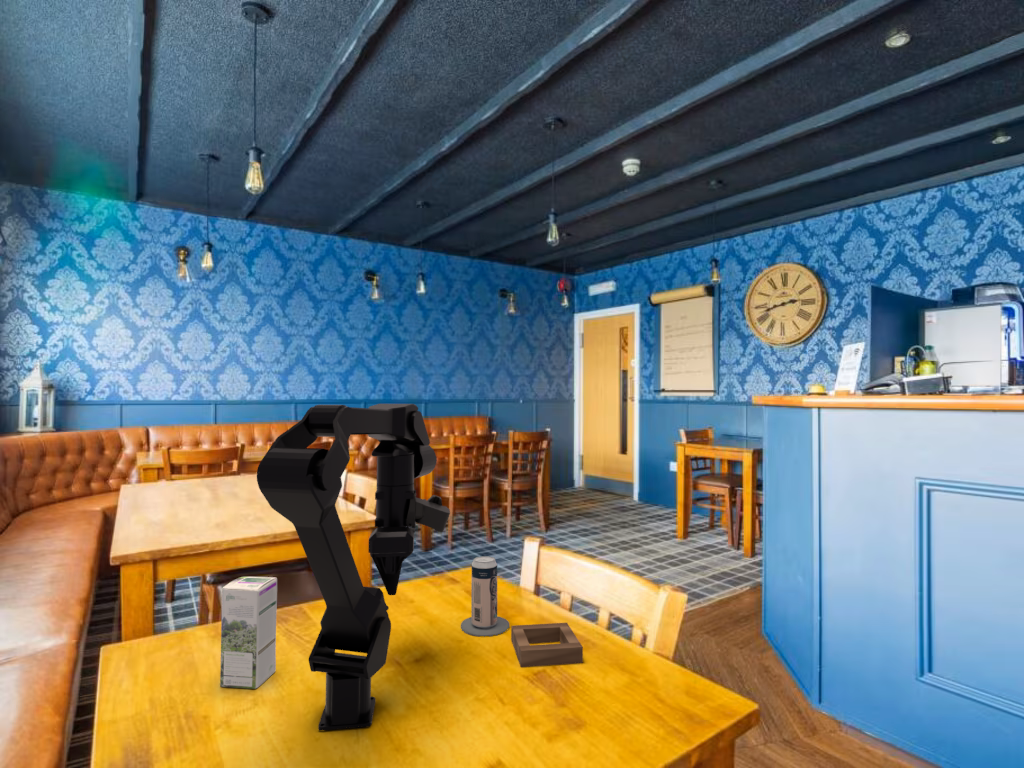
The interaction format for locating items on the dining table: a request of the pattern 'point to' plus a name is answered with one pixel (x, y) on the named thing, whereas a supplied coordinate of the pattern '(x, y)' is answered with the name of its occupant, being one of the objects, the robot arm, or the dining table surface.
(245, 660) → the syrup box
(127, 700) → the dining table surface
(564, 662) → the socket block
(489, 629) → the coaster
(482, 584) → the beer can
